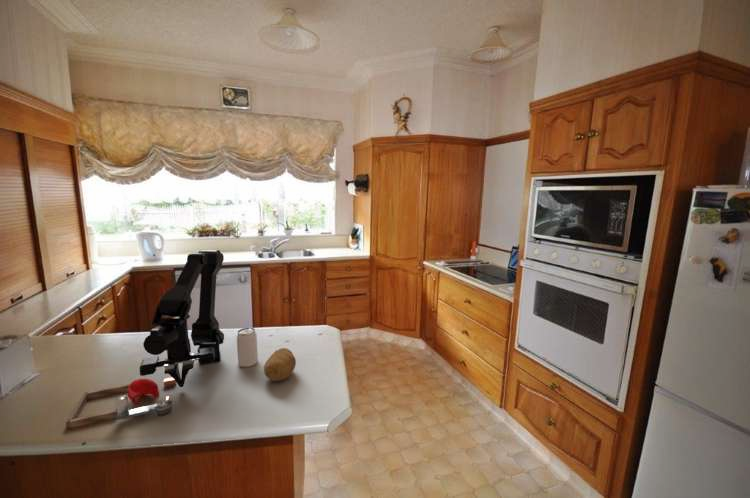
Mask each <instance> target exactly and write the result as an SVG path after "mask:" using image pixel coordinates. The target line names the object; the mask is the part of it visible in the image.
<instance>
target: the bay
mask: <svg viewBox="0 0 750 498" xmlns="http://www.w3.org/2000/svg"><path fill="white" fill-rule="evenodd" d="M129 385H130V384H122V385H117V386H113V387H107V388H101V389H95V390H92V391H86V392H84V393H83V395H82V396H81V397H80V399H79V401H78V402H77V404H76V405H75V408H74V409H73V410H72V412H71V413H70V415H69V417H68V419H67V420H66V421H65V426H66V427H65V428H66V430H68V429H73V428H78V427H82V426H86V425H91V424H96V423H100V422H105V421H108V420H113V419H117V414H116V409H115V410H110V411H105V412H101V413H95V414H92V415H88V416H83V417H79V415H80V414H81V412H82V410H83V409H84V407H85V405H86V404H87V402H88V400H91V399H96V398H100V397H107V396H111V395H115V394H116V395H117V394H120V393H125V392H127V390H128V387H129Z"/></svg>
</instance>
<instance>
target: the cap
mask: <svg viewBox="0 0 750 498" xmlns="http://www.w3.org/2000/svg"><path fill="white" fill-rule="evenodd" d="M143 395H150V396H152V397H153V398H159V397H160V390H159V386H158V384H157V382H155V381H154V380H152V379H149V378H139V379H135V380H133V381H132V382H130V384H129V387H128V390H127V398H129V399H128V400H130V401H131V402H132V404H133V405H138V400H136V399H138V398H140V397H141V396H143Z"/></svg>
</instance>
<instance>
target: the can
mask: <svg viewBox="0 0 750 498" xmlns="http://www.w3.org/2000/svg"><path fill="white" fill-rule="evenodd" d="M257 337H258V336H257V332H256V329H255V328H254V327H244V328H241V329H239V330H238V331H237V335H236V348H237V349H236V350H237V362H238V366H239V367H242V368H249V367H254V366H255V365H256V364H257V363H258V338H257Z"/></svg>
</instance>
